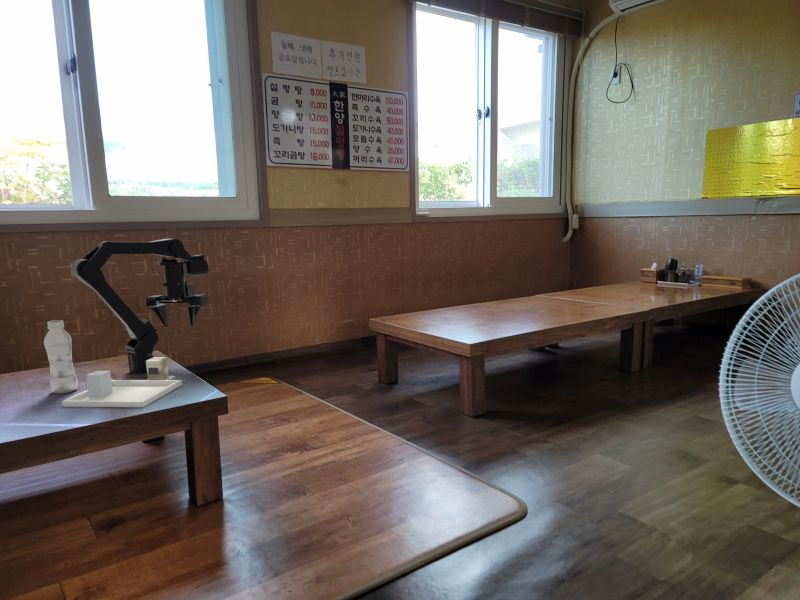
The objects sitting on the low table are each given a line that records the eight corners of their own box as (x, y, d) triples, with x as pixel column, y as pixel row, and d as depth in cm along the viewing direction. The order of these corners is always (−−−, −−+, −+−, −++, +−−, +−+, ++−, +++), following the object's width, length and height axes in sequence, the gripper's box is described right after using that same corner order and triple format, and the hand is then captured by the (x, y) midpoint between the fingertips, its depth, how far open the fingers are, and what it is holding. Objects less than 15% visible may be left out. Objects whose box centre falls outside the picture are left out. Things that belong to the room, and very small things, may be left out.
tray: (62, 408, 138) (61, 401, 138) (109, 386, 156) (108, 379, 156) (143, 409, 135) (142, 402, 135) (182, 386, 153) (181, 380, 153)
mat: (141, 383, 157) (141, 382, 157) (153, 377, 163) (153, 376, 163) (164, 384, 156) (164, 382, 156) (175, 377, 162) (175, 376, 162)
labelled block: (160, 381, 157) (158, 360, 156) (147, 381, 157) (145, 360, 156) (168, 377, 161) (166, 357, 160) (156, 377, 161) (153, 357, 160)
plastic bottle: (67, 396, 148) (57, 323, 145) (45, 396, 149) (34, 323, 146) (84, 389, 154) (75, 318, 151) (63, 388, 155) (53, 319, 152)
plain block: (88, 397, 145) (86, 375, 144) (99, 392, 149) (96, 370, 148) (102, 397, 144) (100, 375, 143) (112, 392, 148) (110, 370, 147)
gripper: (214, 274, 181) (218, 321, 183) (161, 276, 183) (166, 322, 186) (197, 278, 170) (202, 328, 172) (141, 280, 172) (146, 329, 175)
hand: (179, 326), depth 176 cm, fingers open, 9 cm apart
